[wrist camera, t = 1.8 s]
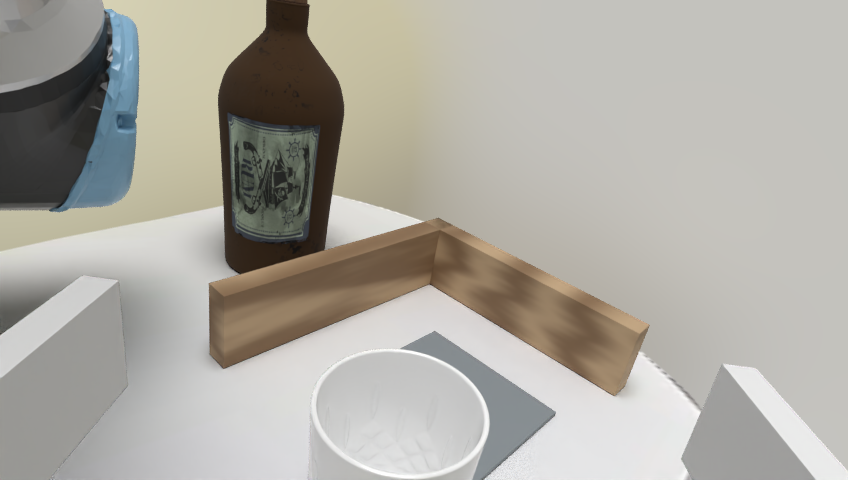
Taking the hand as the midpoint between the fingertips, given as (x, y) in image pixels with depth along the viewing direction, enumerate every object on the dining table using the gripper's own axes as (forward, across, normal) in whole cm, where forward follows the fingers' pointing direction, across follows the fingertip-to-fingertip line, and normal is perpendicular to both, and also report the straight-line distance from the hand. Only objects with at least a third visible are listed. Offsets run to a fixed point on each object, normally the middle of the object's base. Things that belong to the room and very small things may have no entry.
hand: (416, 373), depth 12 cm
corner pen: (+25, +2, -18) cm, 31 cm away
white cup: (+10, 0, -19) cm, 21 cm away
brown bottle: (+38, -13, -17) cm, 44 cm away
